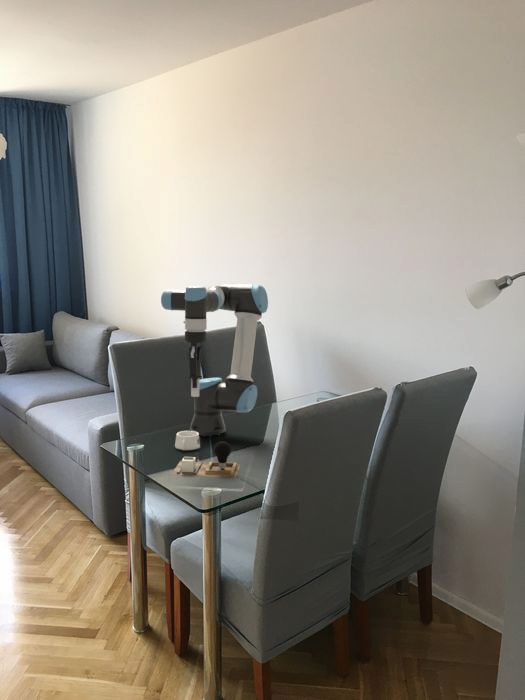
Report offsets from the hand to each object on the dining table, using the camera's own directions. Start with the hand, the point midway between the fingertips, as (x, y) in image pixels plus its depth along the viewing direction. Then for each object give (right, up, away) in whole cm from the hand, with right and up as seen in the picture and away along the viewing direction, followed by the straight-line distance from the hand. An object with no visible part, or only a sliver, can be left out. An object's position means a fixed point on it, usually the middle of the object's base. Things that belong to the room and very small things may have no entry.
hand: (195, 396), depth 213 cm
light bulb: (+10, -25, -6) cm, 28 cm away
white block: (-1, -25, -8) cm, 26 cm away
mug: (-5, -22, +19) cm, 30 cm away
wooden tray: (+5, -26, -6) cm, 27 cm away
